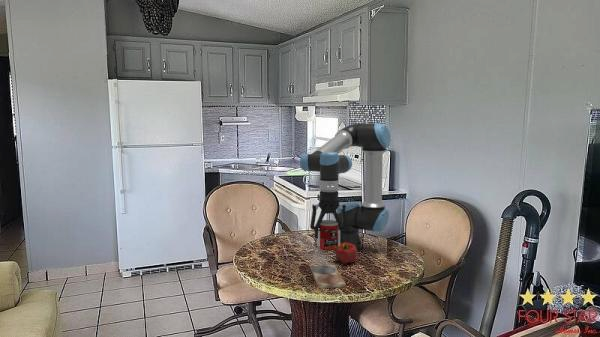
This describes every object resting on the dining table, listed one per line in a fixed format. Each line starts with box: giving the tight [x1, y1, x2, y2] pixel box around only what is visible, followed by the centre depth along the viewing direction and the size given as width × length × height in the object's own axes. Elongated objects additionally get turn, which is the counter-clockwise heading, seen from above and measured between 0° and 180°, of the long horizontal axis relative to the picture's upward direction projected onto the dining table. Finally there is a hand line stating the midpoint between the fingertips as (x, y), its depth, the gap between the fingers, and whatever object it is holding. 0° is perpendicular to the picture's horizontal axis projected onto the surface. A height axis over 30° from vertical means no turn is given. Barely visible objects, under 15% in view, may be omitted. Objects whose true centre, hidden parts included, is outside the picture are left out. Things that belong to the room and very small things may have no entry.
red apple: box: [334, 242, 358, 265], centre depth 198 cm, size 11×10×10 cm
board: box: [309, 264, 347, 289], centre depth 180 cm, size 11×22×2 cm, turn 8°
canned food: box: [319, 219, 338, 252], centre depth 173 cm, size 8×8×11 cm
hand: (328, 245), depth 174 cm, fingers closed on canned food, 8 cm apart
